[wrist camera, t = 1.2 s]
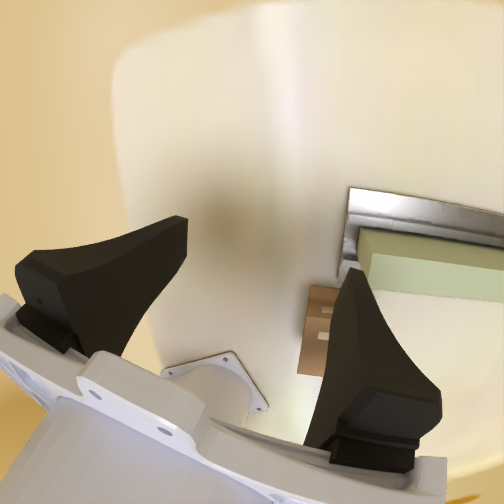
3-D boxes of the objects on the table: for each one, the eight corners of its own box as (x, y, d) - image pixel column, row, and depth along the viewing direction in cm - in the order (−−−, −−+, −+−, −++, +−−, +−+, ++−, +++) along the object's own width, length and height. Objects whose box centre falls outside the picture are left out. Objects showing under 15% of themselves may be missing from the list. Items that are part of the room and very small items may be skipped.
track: (337, 276, 24) (338, 288, 22) (349, 186, 21) (352, 190, 19) (563, 301, 19) (573, 311, 17) (581, 236, 16) (594, 243, 14)
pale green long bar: (356, 253, 22) (366, 288, 16) (360, 226, 21) (372, 252, 15) (509, 273, 19) (546, 306, 13) (515, 251, 18) (555, 279, 13)
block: (358, 343, 25) (362, 381, 21) (302, 336, 26) (296, 374, 22) (371, 290, 24) (380, 323, 19) (310, 283, 25) (306, 314, 20)
